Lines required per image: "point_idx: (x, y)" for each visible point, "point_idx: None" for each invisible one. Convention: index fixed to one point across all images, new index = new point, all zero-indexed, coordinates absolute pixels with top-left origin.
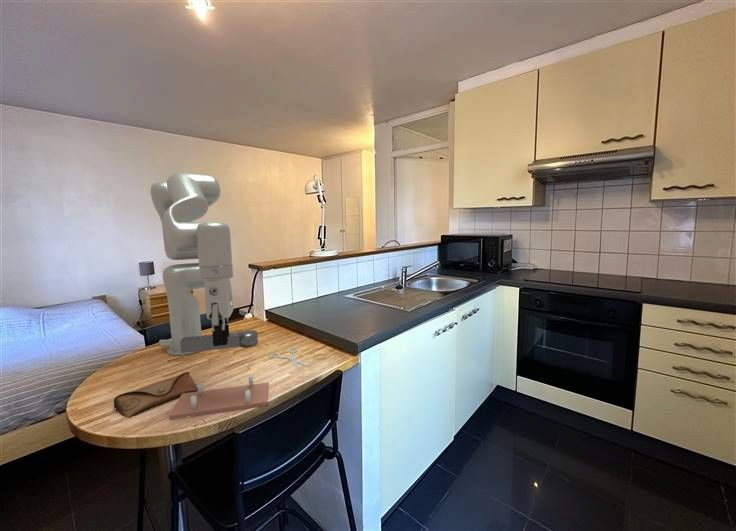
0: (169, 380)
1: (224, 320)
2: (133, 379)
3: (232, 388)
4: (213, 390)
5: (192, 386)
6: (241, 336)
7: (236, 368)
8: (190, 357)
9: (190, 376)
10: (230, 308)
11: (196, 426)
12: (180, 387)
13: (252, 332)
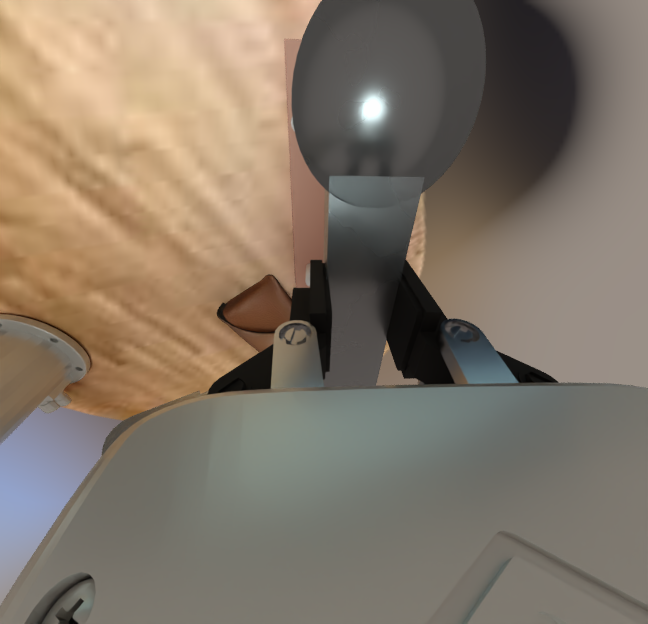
0: (267, 342)
1: (475, 381)
2: (210, 386)
3: (300, 191)
4: (298, 243)
5: (270, 293)
6: (443, 171)
7: (142, 197)
8: (91, 331)
9: (232, 309)
10: (606, 514)
11: (423, 249)
12: (281, 315)
13: (381, 44)
